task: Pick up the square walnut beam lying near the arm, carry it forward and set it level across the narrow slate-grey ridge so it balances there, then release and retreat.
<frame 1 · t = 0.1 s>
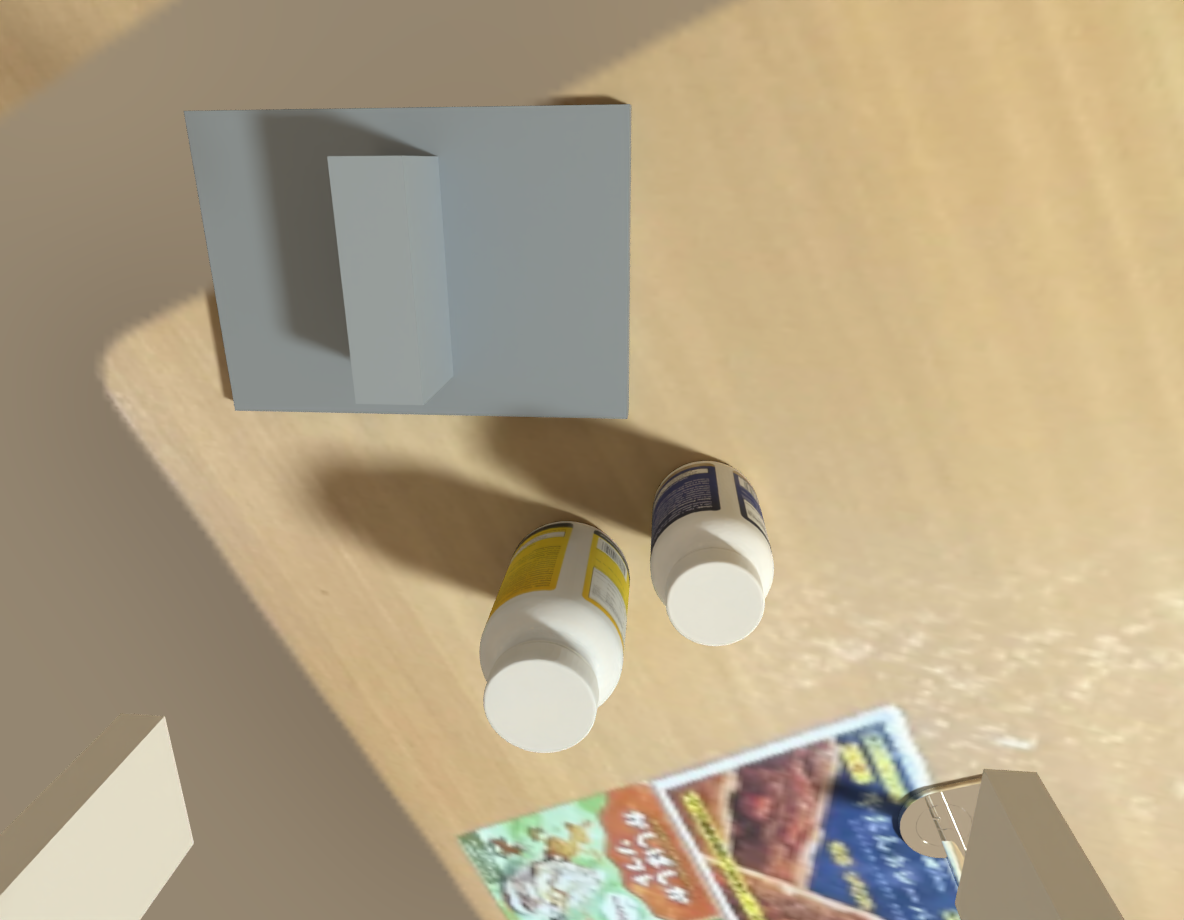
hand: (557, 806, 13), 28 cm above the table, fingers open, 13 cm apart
stand: (967, 811, 46), on the table
fulcrum: (421, 268, 38), on the table
pill bottle: (704, 505, 41), on the table
pill bottle 2: (572, 568, 43), on the table
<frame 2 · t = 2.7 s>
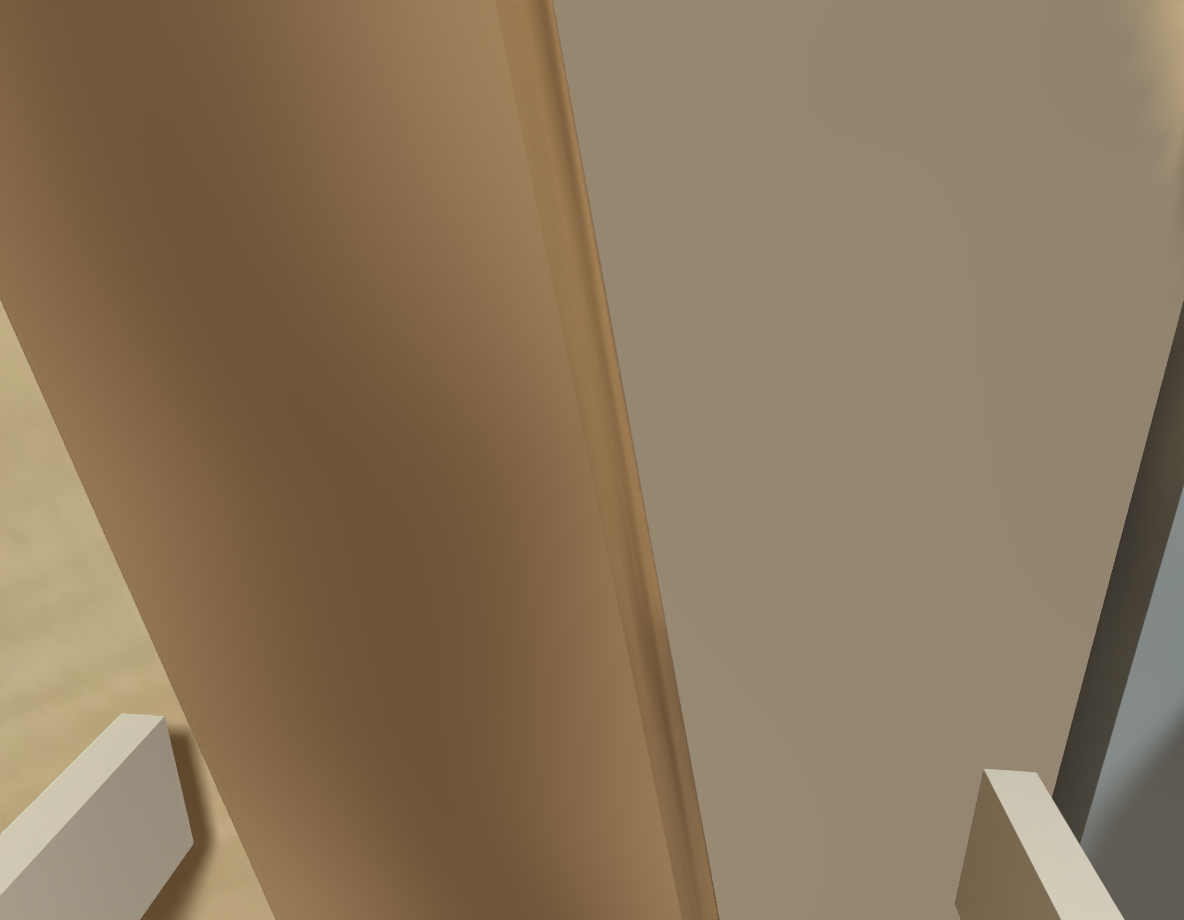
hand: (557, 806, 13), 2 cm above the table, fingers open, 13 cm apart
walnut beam: (545, 716, 15), on the table
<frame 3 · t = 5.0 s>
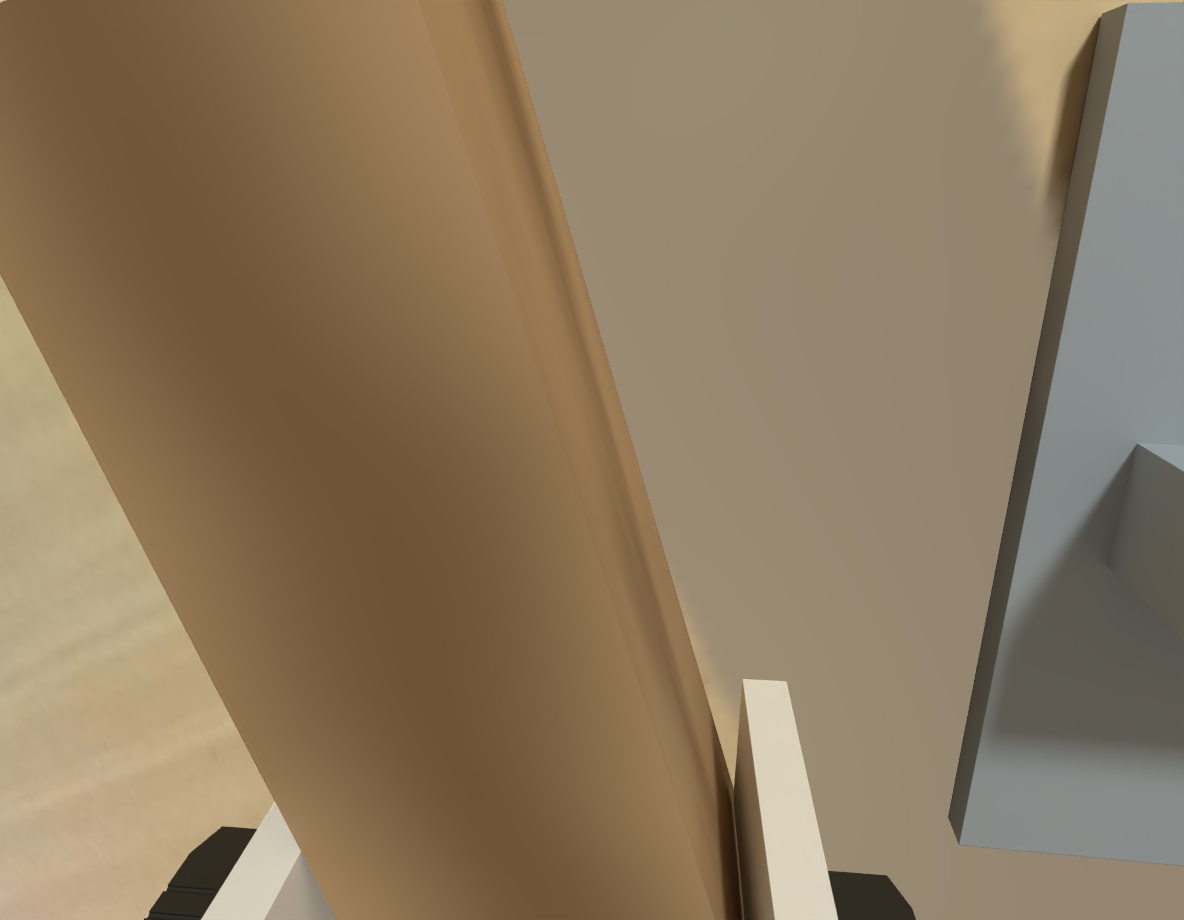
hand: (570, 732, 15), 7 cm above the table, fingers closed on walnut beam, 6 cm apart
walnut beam: (575, 710, 15), point 6 cm above the table, touching gripper
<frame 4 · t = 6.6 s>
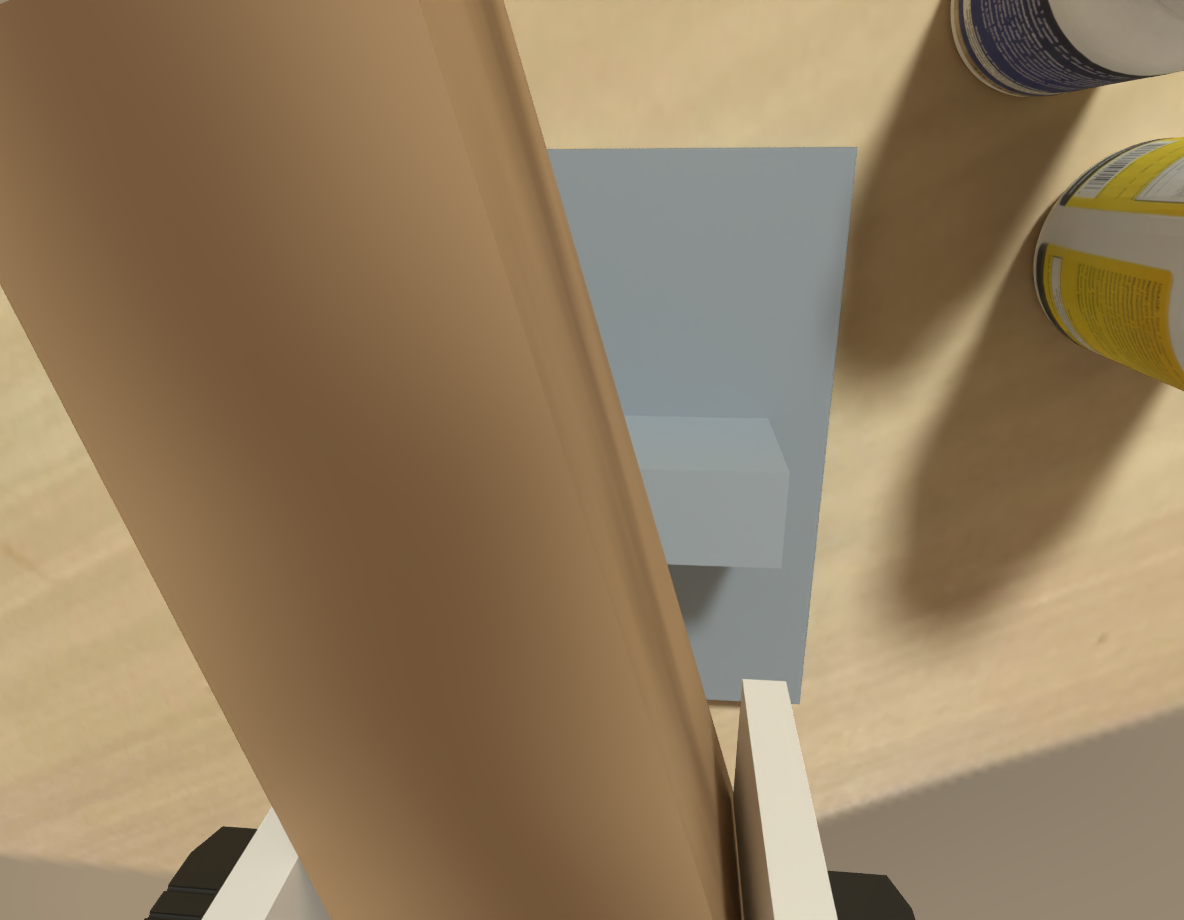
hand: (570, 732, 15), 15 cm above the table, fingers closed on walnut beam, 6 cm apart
fulcrum: (621, 446, 29), on the table
pill bottle 2: (1130, 247, 25), on the table
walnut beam: (575, 715, 15), point 15 cm above the table, touching gripper
when the fingers open (6 cm above the table, at t = 8.2 s): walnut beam stays where it is, resting on fulcrum.
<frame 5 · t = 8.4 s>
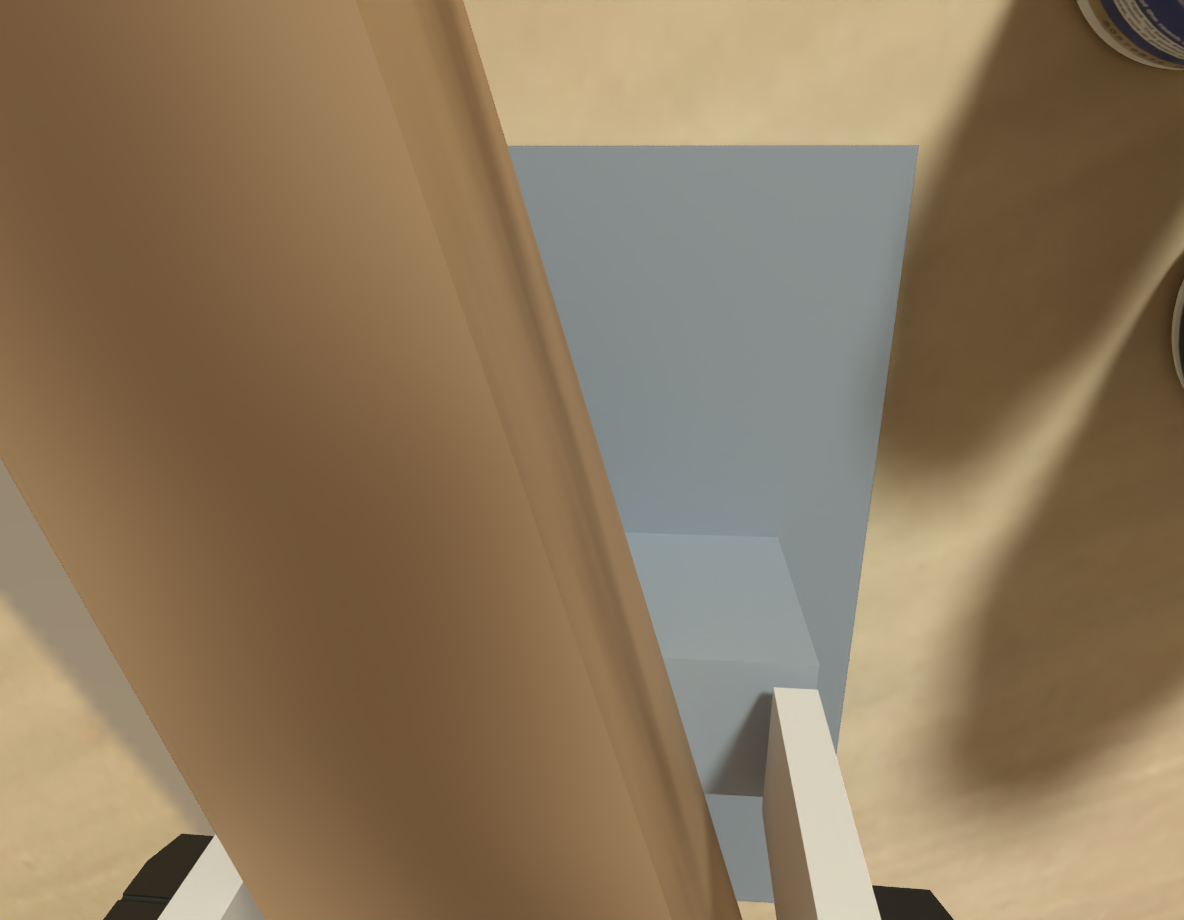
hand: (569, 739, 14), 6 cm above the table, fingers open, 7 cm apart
fulcrum: (569, 566, 20), on the table
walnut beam: (544, 726, 15), point 6 cm above the table, touching fulcrum, gripper
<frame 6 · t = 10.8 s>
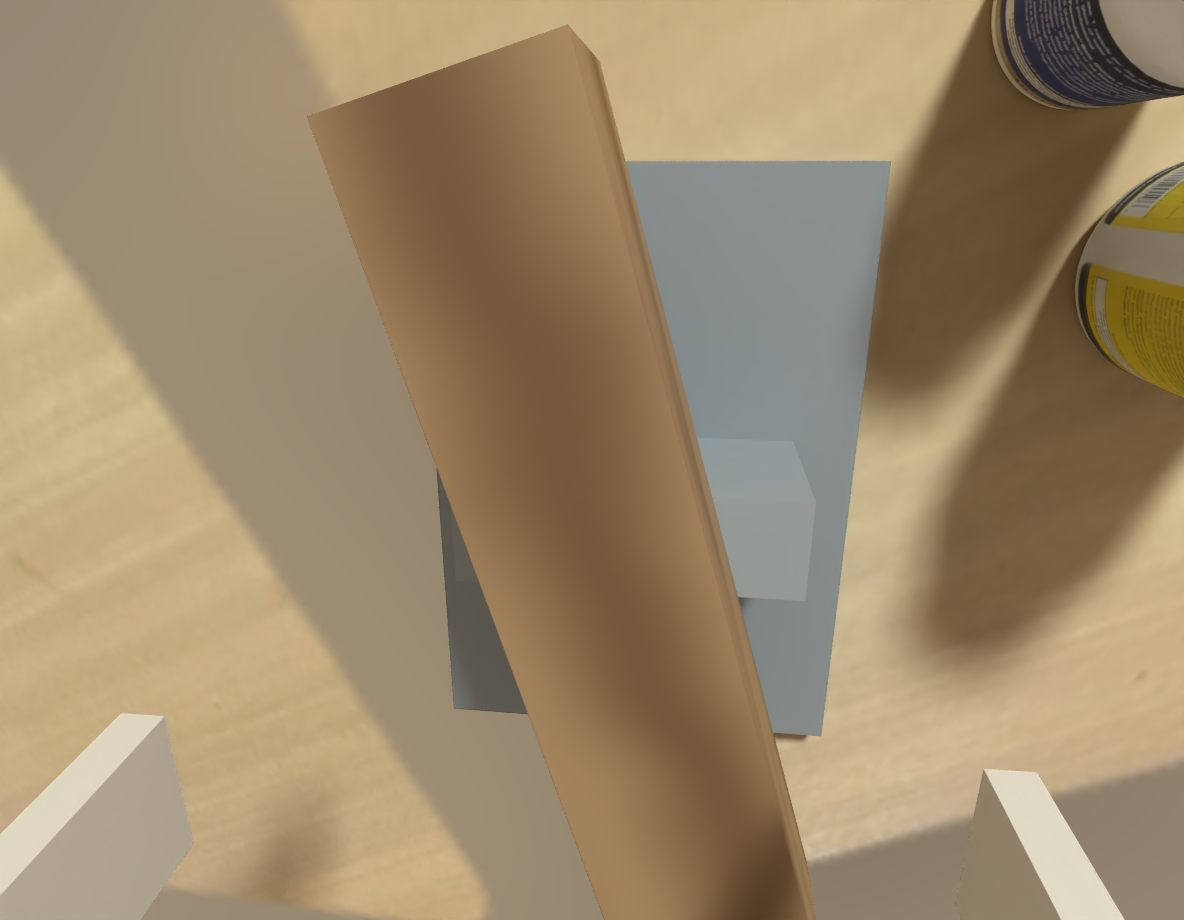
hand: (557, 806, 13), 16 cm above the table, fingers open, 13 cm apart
fulcrum: (639, 467, 28), on the table
pill bottle: (1087, 6, 22), on the table
pill bottle 2: (1178, 268, 24), on the table
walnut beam: (632, 547, 22), point 6 cm above the table, touching fulcrum
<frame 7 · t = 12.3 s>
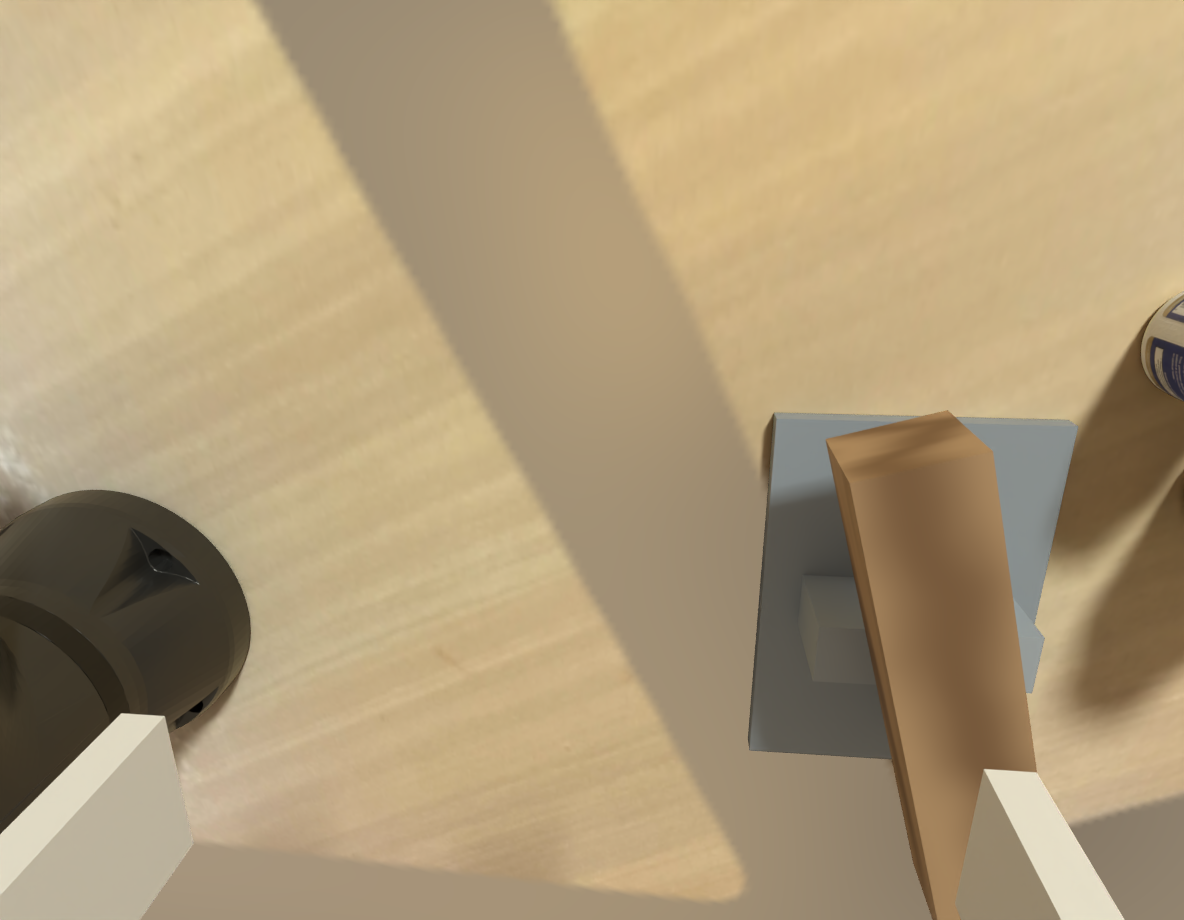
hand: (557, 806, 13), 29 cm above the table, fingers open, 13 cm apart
fulcrum: (892, 594, 43), on the table
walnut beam: (928, 662, 37), point 6 cm above the table, touching fulcrum
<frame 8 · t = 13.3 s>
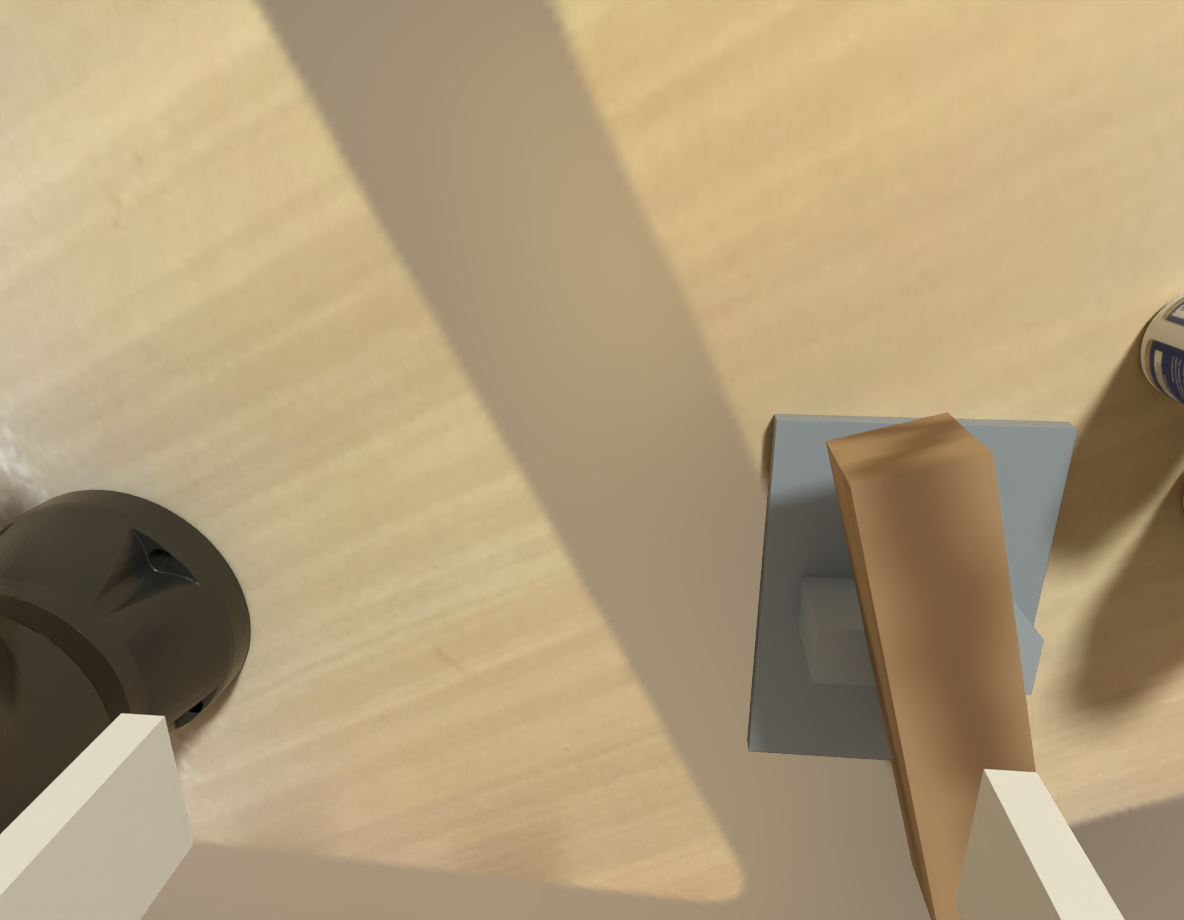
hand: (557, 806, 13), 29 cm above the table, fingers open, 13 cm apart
fulcrum: (892, 596, 43), on the table
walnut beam: (928, 663, 37), point 6 cm above the table, touching fulcrum
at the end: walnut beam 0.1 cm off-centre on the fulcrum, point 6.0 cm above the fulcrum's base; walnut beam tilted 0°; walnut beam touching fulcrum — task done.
